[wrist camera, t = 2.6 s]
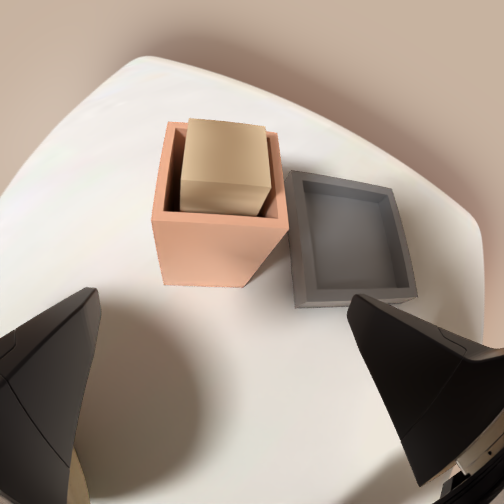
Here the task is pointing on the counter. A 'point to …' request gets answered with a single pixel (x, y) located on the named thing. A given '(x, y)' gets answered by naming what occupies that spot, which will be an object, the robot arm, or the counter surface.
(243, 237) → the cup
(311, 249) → the tray
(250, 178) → the block top
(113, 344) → the counter surface
